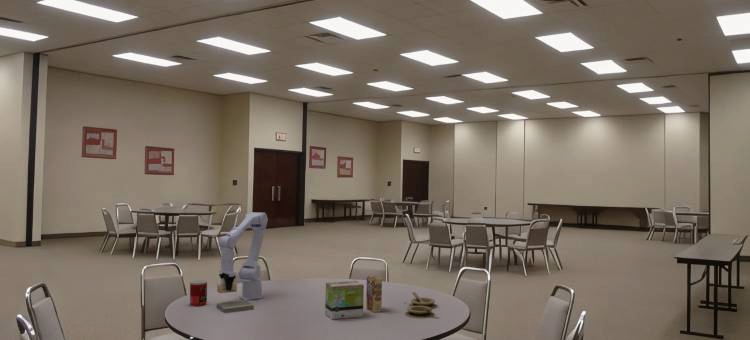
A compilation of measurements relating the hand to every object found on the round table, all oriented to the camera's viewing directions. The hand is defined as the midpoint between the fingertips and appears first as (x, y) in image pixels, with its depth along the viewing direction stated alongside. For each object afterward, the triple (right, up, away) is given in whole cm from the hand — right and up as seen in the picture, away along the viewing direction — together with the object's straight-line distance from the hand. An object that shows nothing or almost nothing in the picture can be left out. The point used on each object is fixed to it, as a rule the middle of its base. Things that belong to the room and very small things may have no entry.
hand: (227, 289), depth 274 cm
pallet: (0, -1, 0) cm, 1 cm away
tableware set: (+93, -9, -7) cm, 94 cm away
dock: (+5, -8, -5) cm, 11 cm away
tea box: (+57, -9, -18) cm, 61 cm away
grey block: (0, +2, 0) cm, 3 cm away
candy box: (+71, -9, -7) cm, 72 cm away
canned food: (-15, -8, +3) cm, 17 cm away
